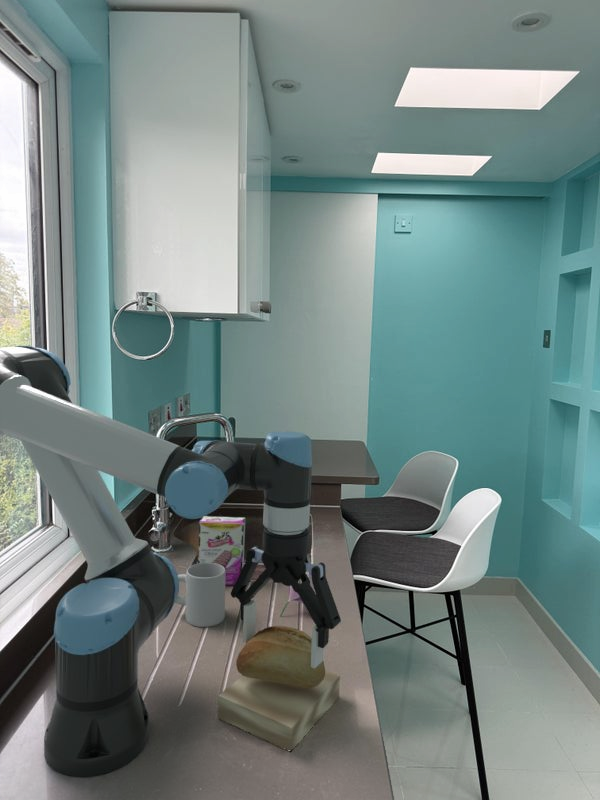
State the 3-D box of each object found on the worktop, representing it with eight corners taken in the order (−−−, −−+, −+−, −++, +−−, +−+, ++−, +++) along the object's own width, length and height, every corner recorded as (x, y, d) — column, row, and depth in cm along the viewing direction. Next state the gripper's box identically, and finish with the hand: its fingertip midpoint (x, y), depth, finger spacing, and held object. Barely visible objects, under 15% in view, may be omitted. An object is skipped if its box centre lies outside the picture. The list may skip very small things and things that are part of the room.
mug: (228, 610, 131) (229, 563, 130) (219, 629, 123) (220, 579, 122) (177, 605, 132) (177, 559, 131) (164, 624, 124) (165, 575, 123)
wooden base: (290, 752, 87) (291, 727, 87) (217, 718, 94) (218, 695, 94) (338, 697, 101) (339, 675, 101) (272, 671, 108) (272, 651, 108)
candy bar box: (197, 586, 143) (198, 521, 141) (200, 577, 148) (201, 515, 146) (242, 587, 143) (244, 523, 141) (244, 578, 148) (245, 516, 146)
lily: (313, 634, 124) (330, 591, 126) (263, 612, 124) (281, 569, 126) (306, 624, 136) (322, 585, 138) (260, 603, 135) (277, 564, 138)
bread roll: (243, 657, 103) (244, 614, 102) (327, 666, 101) (329, 623, 100) (229, 690, 93) (231, 643, 92) (322, 700, 92) (324, 653, 91)
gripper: (365, 536, 91) (358, 664, 94) (238, 507, 104) (235, 620, 106) (344, 551, 85) (337, 687, 87) (211, 518, 97) (209, 638, 100)
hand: (281, 651), depth 97 cm, fingers closed on bread roll, 13 cm apart
